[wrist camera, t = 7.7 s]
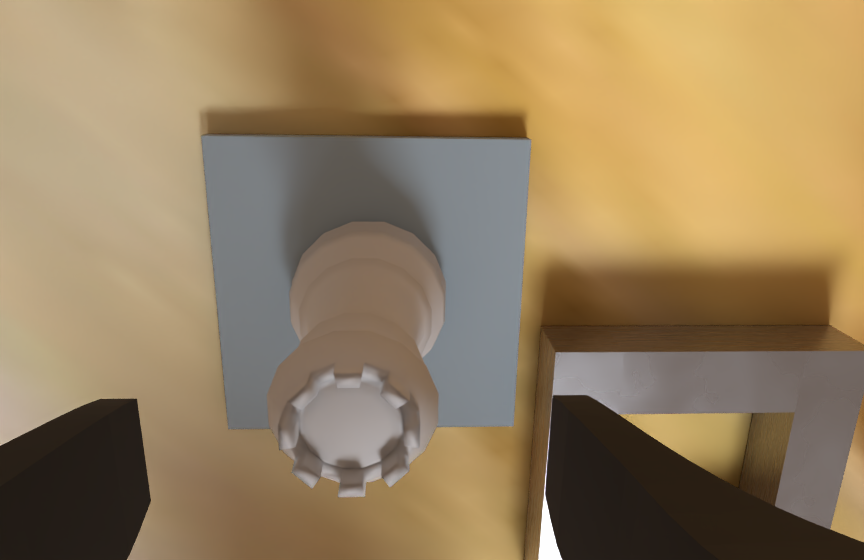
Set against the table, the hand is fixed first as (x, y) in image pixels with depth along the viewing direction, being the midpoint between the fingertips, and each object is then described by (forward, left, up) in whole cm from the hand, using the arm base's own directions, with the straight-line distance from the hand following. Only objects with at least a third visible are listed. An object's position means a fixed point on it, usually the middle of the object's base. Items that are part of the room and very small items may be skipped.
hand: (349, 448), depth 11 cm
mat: (0, 0, -9) cm, 9 cm away
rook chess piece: (0, 0, -8) cm, 8 cm away
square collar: (-6, -10, -9) cm, 15 cm away
